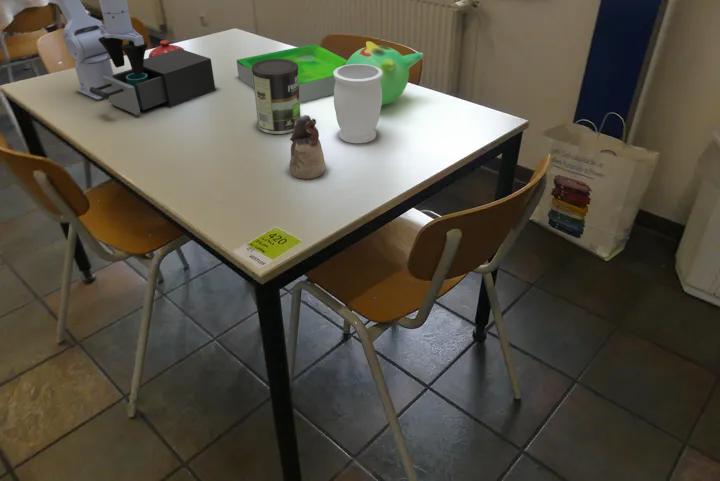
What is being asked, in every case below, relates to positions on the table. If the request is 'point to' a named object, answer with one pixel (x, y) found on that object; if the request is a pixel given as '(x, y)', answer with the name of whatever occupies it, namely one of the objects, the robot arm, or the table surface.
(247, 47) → the table surface
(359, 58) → the toy bird
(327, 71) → the tray
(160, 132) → the table surface
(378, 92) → the jar
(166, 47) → the butter dish
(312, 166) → the figurine
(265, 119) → the coffee can
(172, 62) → the dark grey storage box
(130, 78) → the container
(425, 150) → the table surface
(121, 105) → the drawer
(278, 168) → the table surface
